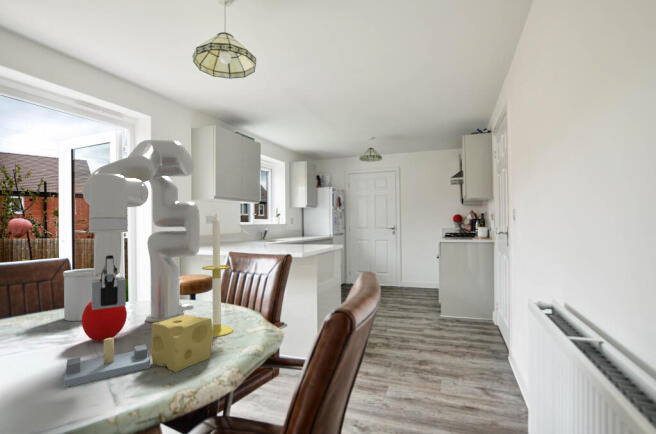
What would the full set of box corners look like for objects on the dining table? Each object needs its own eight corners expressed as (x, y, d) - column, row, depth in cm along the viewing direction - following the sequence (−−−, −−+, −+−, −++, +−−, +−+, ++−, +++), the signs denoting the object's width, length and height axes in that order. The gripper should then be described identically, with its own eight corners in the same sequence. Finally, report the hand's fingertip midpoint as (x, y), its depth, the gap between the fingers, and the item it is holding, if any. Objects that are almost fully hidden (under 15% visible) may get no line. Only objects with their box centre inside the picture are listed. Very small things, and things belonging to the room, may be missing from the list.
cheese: (175, 373, 76) (175, 329, 76) (149, 363, 82) (148, 322, 82) (213, 357, 85) (213, 317, 85) (186, 349, 91) (186, 312, 91)
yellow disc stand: (200, 339, 99) (199, 212, 100) (199, 329, 108) (199, 213, 109) (235, 334, 103) (234, 212, 103) (231, 325, 112) (230, 213, 113)
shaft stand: (144, 354, 87) (144, 327, 88) (150, 367, 79) (150, 337, 80) (66, 370, 78) (66, 340, 78) (64, 387, 70) (64, 353, 70)
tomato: (72, 343, 97) (72, 298, 97) (109, 332, 107) (109, 291, 107) (99, 348, 93) (99, 301, 93) (134, 335, 103) (134, 293, 103)
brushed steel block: (91, 304, 80) (91, 279, 80) (123, 301, 83) (123, 276, 84) (92, 309, 74) (92, 282, 75) (125, 305, 78) (125, 279, 78)
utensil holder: (87, 310, 135) (87, 267, 136) (120, 311, 133) (120, 267, 134) (52, 321, 121) (52, 272, 121) (89, 322, 118) (89, 272, 119)
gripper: (89, 227, 84) (88, 298, 84) (89, 226, 70) (88, 312, 70) (123, 226, 89) (123, 294, 88) (130, 225, 75) (130, 306, 74)
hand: (108, 301), depth 79 cm, fingers closed on brushed steel block, 6 cm apart
